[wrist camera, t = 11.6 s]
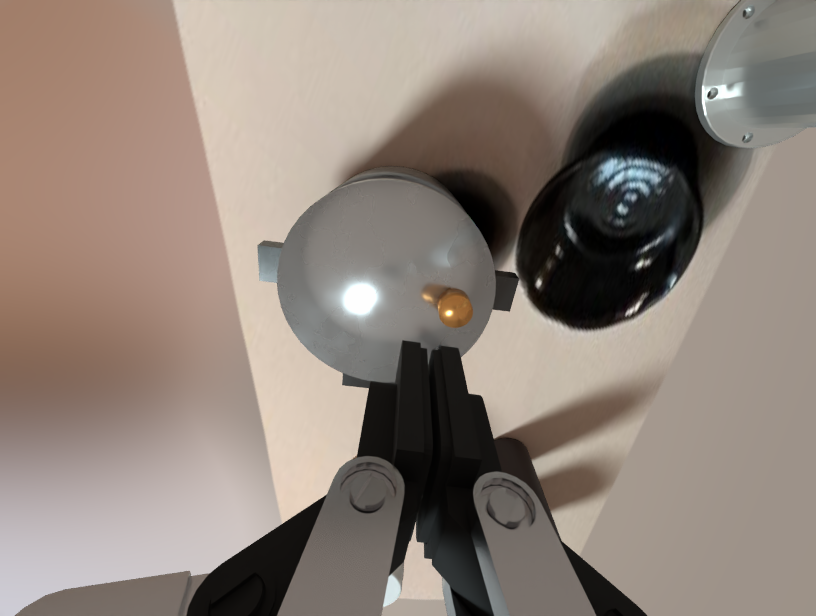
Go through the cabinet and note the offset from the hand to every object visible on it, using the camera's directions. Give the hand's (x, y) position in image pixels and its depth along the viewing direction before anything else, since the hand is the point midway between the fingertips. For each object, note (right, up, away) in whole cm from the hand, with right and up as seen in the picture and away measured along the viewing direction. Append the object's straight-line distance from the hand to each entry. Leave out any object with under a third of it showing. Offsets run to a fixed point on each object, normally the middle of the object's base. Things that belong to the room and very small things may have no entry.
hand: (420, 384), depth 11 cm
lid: (-2, +4, +16) cm, 17 cm away
